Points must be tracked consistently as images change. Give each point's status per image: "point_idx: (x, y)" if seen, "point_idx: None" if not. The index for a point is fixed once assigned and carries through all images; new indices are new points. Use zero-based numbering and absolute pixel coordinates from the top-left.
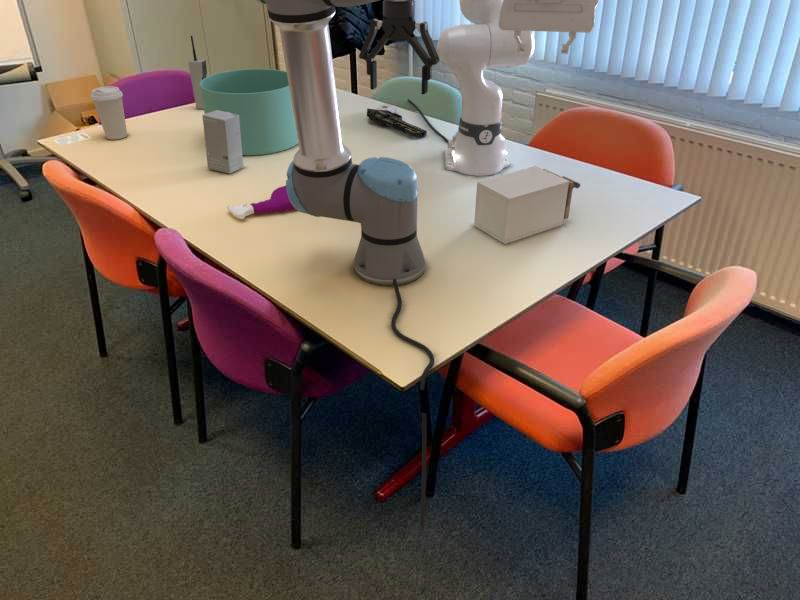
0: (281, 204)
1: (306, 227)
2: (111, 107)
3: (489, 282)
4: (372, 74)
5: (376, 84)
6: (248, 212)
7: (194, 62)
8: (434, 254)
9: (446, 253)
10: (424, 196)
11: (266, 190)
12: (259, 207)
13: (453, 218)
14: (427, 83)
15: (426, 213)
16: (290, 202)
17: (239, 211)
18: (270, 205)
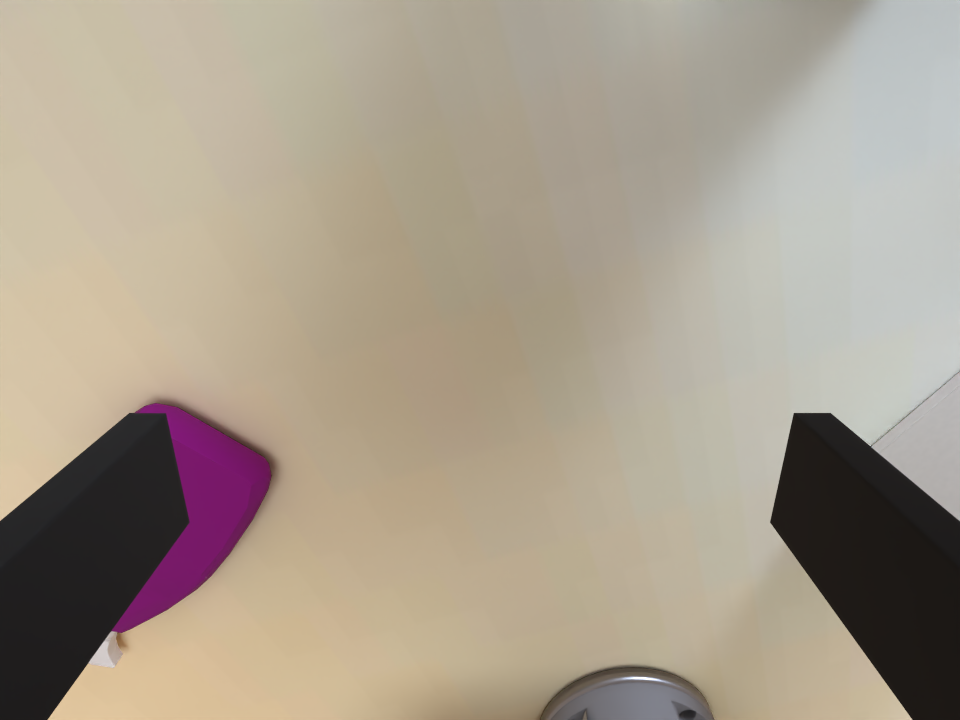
0: (180, 599)
1: (319, 625)
2: None
3: (873, 717)
4: (81, 665)
5: (152, 445)
6: (113, 637)
7: None
8: (724, 651)
9: (756, 639)
10: (616, 309)
11: (11, 446)
12: (128, 626)
13: (755, 449)
14: (891, 476)
15: (654, 442)
16: (199, 583)
17: (92, 658)
18: (152, 612)
